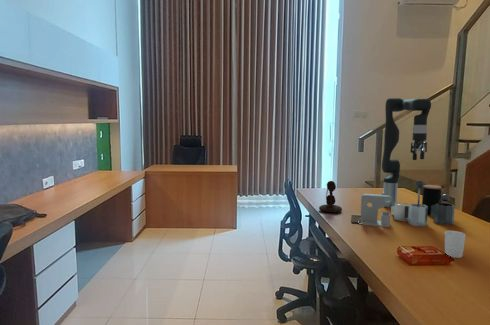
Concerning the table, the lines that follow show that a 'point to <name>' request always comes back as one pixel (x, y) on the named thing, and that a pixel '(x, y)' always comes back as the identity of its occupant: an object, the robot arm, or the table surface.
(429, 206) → the coffee jar
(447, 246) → the white cup
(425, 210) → the steel press
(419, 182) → the plunger
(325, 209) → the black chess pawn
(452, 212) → the black press
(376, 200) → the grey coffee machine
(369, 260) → the table surface
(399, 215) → the mug
